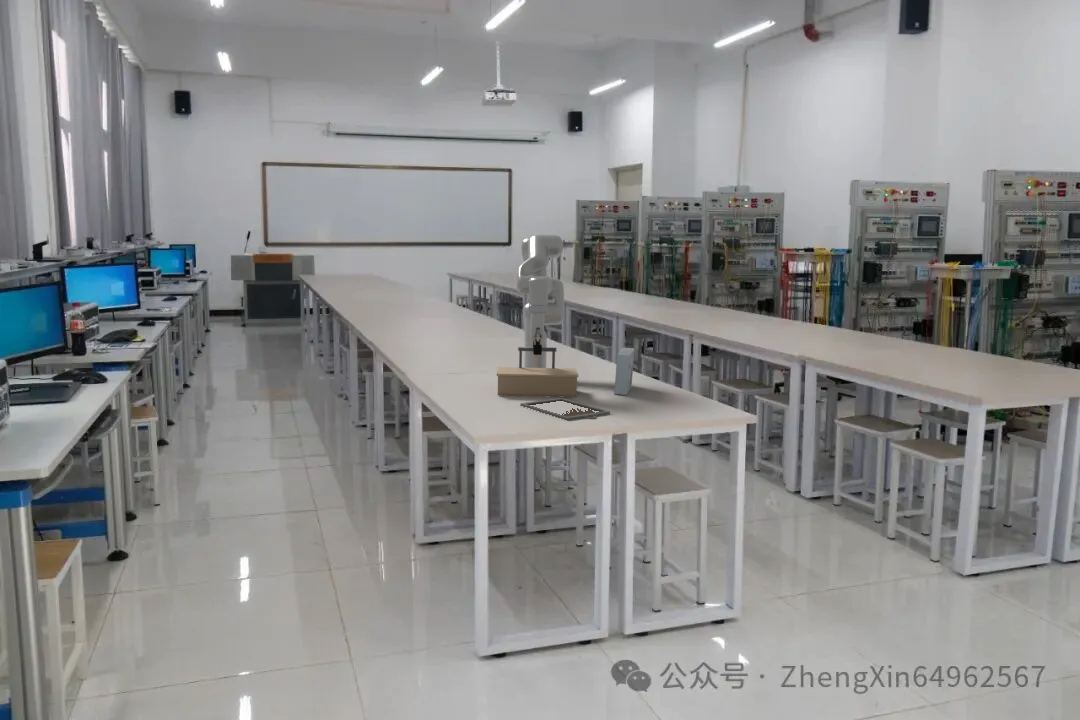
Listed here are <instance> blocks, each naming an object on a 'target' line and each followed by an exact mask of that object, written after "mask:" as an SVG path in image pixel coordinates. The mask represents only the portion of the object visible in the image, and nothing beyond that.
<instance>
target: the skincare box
mask: <svg viewBox="0 0 1080 720" xmlns="http://www.w3.org/2000/svg"><path fill="white" fill-rule="evenodd" d="M634 360H635V348H633V347H631V348H630V347H622V348H621V349H620V350H619V352H618V353H617V355H616V364H615V365H616V366H615V367H616V368H615V380H614V381H615V382H614V390H613V394H614V395H619V394H620V395H622V396H627V394H628V393H629V391H630V390H631V388H632V386H633V373H634Z"/></svg>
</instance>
